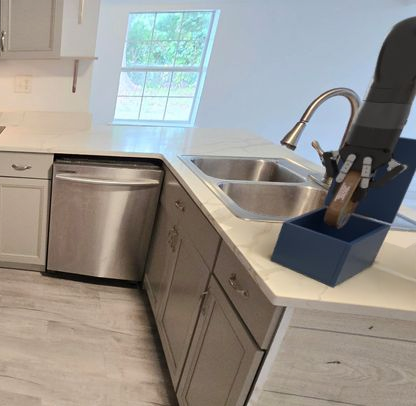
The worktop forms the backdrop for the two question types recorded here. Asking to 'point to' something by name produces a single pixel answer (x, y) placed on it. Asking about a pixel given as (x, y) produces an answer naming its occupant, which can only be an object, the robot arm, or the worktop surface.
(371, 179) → the robot arm
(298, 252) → the blue box
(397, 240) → the worktop surface
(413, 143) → the box lid
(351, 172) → the tin
